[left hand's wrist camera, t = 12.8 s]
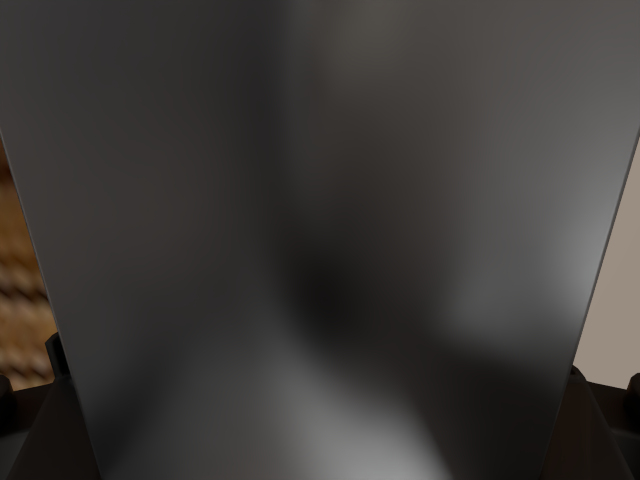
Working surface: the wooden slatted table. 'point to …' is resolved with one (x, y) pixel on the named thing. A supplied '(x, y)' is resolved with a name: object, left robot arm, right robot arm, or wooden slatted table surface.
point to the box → (320, 223)
